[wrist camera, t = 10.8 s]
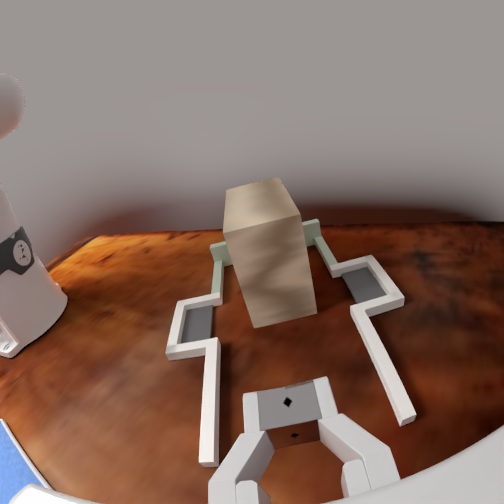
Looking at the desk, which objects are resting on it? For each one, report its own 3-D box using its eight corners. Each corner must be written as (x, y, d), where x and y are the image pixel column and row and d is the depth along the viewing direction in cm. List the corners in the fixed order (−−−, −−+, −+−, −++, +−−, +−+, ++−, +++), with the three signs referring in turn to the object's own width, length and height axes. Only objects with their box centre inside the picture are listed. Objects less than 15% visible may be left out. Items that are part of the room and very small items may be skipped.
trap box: (152, 467, 16) (130, 450, 14) (189, 271, 40) (181, 252, 38) (462, 398, 14) (474, 373, 13) (348, 232, 38) (346, 211, 37)
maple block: (254, 328, 27) (222, 233, 22) (248, 264, 38) (226, 189, 33) (317, 313, 27) (300, 214, 22) (294, 252, 37) (278, 176, 33)
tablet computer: (96, 530, 11) (84, 526, 10) (34, 604, 1) (22, 601, 1) (7, 421, 20) (0, 414, 19) (-39, 478, 11) (-46, 473, 10)
